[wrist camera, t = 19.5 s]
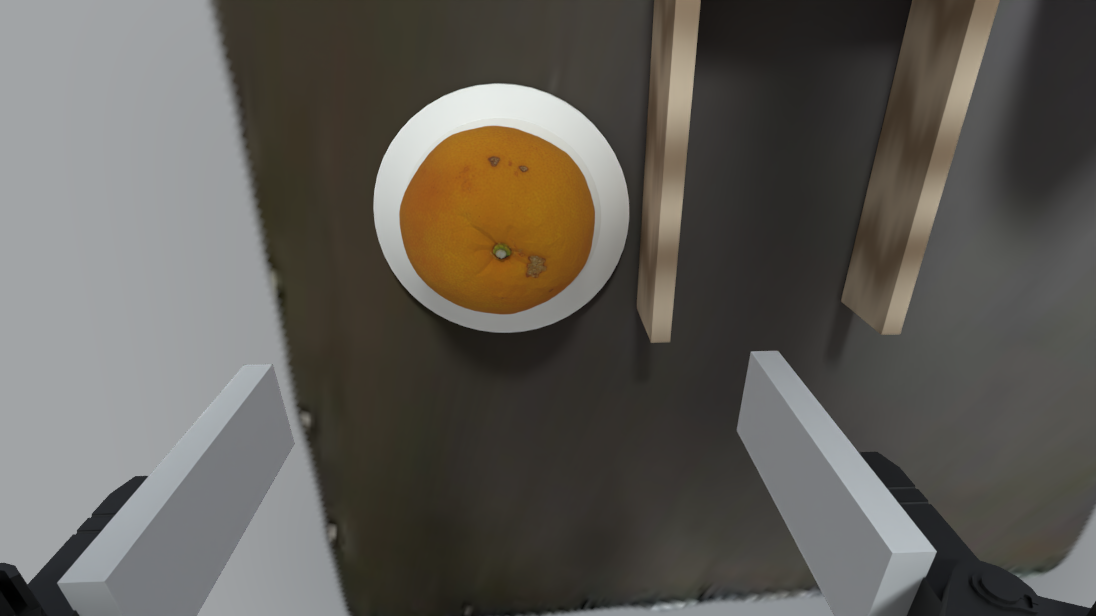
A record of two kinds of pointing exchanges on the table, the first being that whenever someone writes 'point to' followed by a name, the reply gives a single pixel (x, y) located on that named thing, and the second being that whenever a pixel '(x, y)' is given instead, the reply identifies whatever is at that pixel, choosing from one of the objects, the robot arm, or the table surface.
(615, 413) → the table surface
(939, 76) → the oak open frame
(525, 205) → the fruit
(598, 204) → the plate
